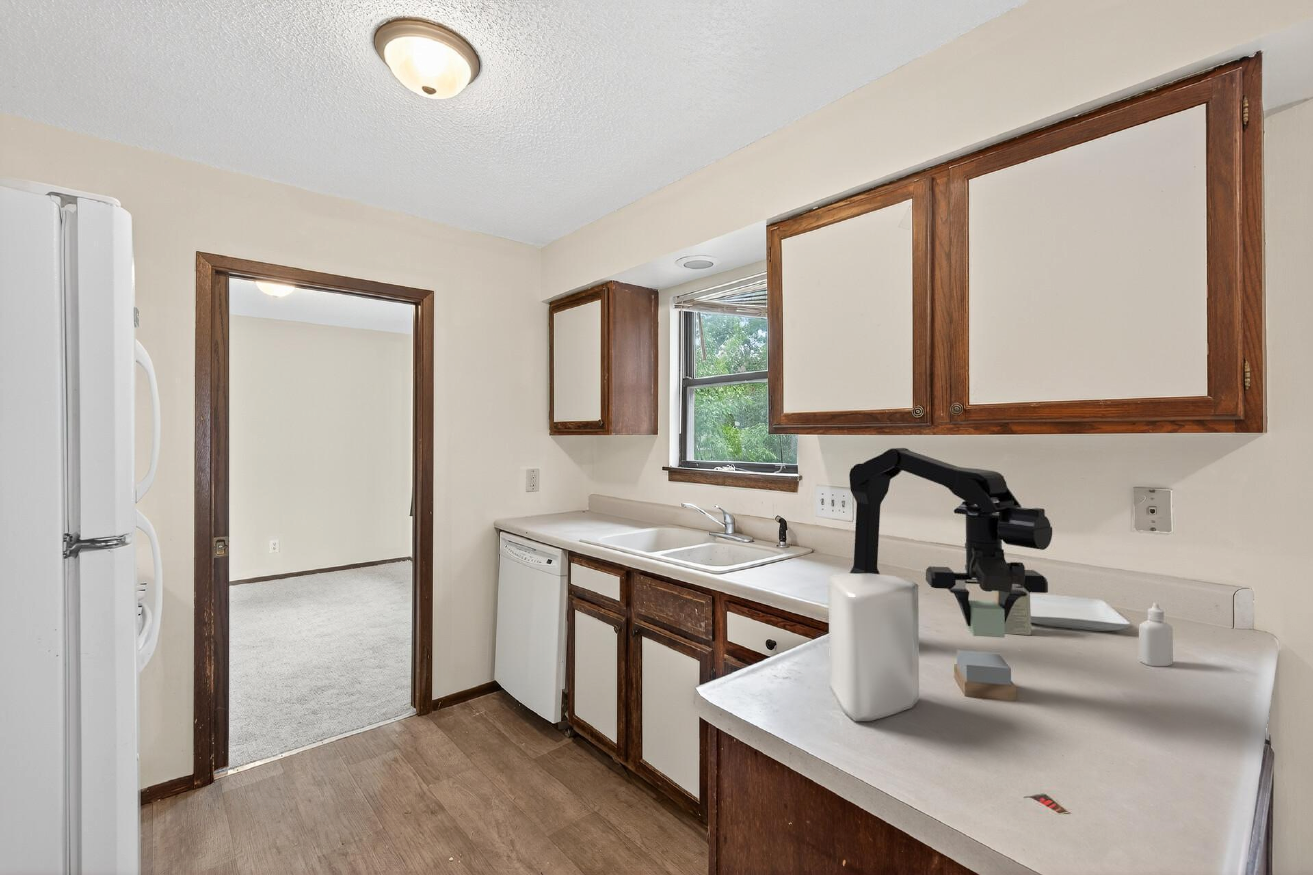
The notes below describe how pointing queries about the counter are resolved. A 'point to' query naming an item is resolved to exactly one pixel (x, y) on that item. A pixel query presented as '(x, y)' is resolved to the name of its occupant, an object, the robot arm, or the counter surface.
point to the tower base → (984, 688)
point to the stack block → (986, 619)
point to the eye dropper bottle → (1155, 639)
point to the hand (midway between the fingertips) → (984, 626)
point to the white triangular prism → (873, 644)
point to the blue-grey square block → (983, 667)
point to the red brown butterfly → (1049, 802)
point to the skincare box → (1019, 616)
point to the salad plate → (1075, 613)
